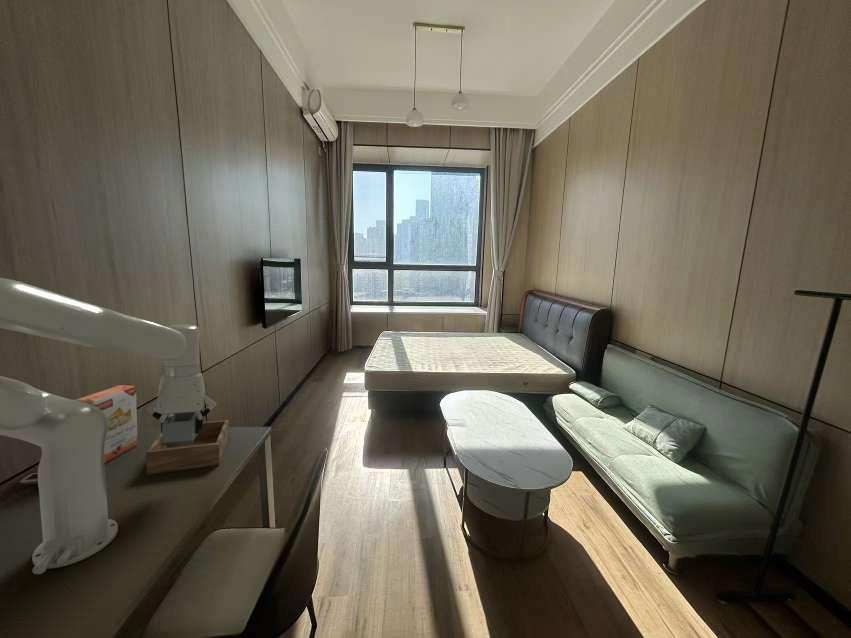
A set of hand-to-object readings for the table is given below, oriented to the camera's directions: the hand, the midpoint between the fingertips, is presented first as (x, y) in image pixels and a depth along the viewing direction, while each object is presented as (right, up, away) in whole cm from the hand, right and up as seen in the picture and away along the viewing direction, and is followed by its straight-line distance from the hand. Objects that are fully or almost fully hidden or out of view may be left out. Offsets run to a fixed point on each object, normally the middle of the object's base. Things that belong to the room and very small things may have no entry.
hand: (182, 432), depth 91 cm
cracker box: (-32, -12, +13) cm, 37 cm away
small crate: (0, -1, 0) cm, 1 cm away
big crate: (-9, -13, +16) cm, 22 cm away
